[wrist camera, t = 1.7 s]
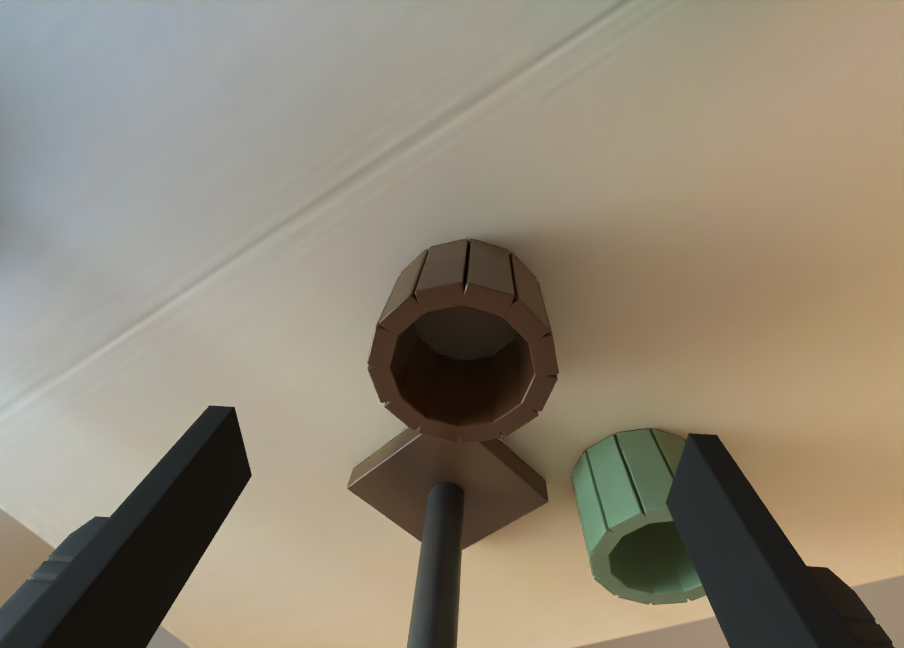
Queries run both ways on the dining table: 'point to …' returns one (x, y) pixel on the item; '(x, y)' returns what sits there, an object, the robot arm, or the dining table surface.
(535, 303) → the walnut ring
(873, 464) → the dining table surface
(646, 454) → the sage ring
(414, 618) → the ring post
